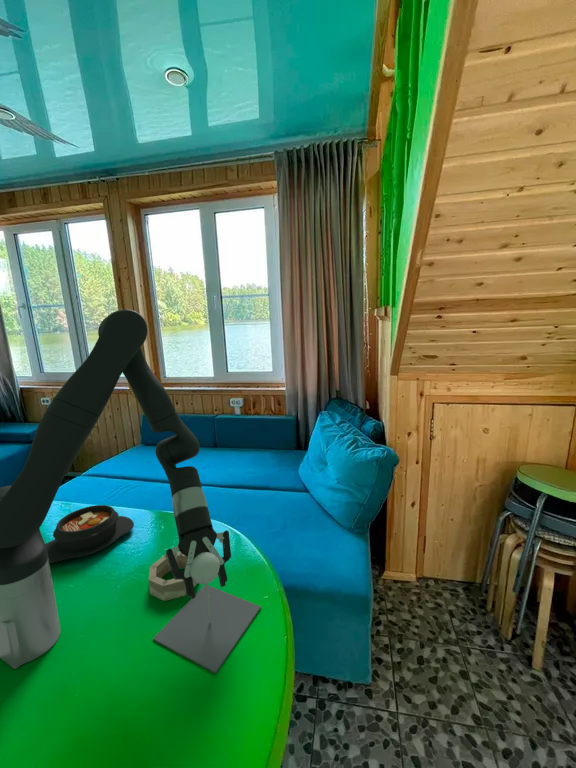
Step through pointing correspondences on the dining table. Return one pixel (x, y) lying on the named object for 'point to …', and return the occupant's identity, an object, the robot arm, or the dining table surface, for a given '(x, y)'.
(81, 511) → the casserole
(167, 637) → the mat
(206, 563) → the lollipop
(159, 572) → the octagonal ring
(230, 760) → the dining table surface
